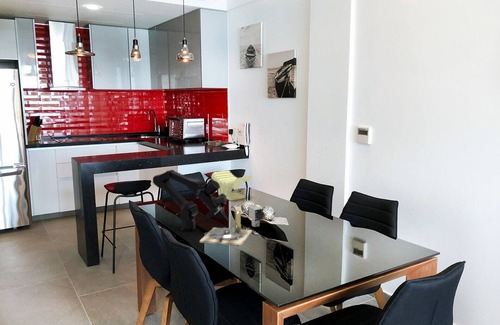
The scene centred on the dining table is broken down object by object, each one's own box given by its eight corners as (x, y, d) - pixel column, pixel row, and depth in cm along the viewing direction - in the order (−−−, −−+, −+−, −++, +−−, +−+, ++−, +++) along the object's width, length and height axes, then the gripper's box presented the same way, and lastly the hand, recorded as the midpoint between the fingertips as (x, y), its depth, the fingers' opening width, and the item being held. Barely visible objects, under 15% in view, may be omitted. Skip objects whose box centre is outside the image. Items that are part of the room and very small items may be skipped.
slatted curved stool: (211, 195, 307) (211, 172, 304) (229, 192, 316) (229, 170, 313) (233, 203, 283) (233, 178, 280) (252, 199, 292) (251, 175, 290)
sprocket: (204, 232, 217) (203, 210, 215) (235, 227, 225) (235, 206, 223) (216, 243, 201) (216, 219, 199) (250, 237, 209) (250, 215, 207)
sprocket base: (199, 242, 205) (199, 236, 205) (213, 229, 226) (213, 224, 226) (241, 245, 200) (241, 240, 199) (251, 231, 221) (251, 226, 221)
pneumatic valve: (256, 229, 225) (256, 208, 223) (247, 223, 235) (247, 204, 234) (265, 228, 228) (265, 207, 226) (255, 222, 238) (255, 202, 236)
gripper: (212, 194, 207) (232, 216, 207) (223, 186, 225) (241, 206, 225) (198, 207, 210) (218, 229, 210) (209, 199, 228) (228, 219, 228)
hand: (227, 220), depth 218 cm, fingers closed
